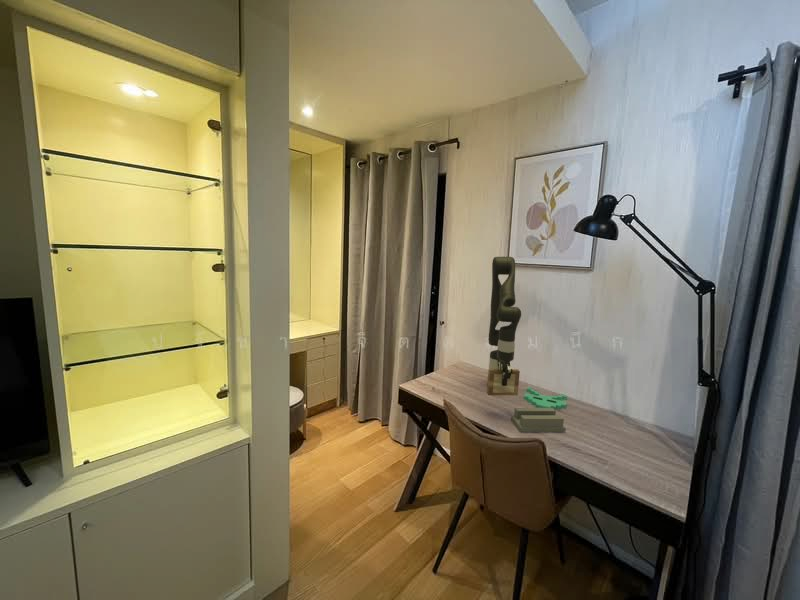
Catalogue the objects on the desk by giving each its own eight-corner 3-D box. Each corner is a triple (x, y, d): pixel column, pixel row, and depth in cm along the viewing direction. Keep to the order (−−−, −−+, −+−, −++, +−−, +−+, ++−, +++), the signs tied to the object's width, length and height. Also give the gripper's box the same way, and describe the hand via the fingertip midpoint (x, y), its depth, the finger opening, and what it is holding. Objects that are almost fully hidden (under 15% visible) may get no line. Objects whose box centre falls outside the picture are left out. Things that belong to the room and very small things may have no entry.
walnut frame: (486, 393, 161) (488, 369, 159) (515, 393, 162) (517, 369, 160) (488, 395, 159) (490, 371, 156) (517, 395, 159) (519, 371, 157)
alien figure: (527, 390, 190) (521, 405, 173) (527, 387, 190) (522, 401, 173) (566, 399, 181) (565, 415, 164) (566, 395, 181) (565, 410, 163)
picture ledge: (511, 419, 158) (512, 407, 157) (552, 419, 159) (554, 407, 158) (520, 432, 147) (521, 419, 146) (565, 432, 148) (566, 419, 147)
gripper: (493, 344, 163) (490, 378, 166) (503, 354, 149) (500, 390, 152) (508, 344, 163) (505, 378, 166) (519, 354, 150) (516, 390, 153)
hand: (503, 384), depth 159 cm, fingers closed on walnut frame, 2 cm apart
